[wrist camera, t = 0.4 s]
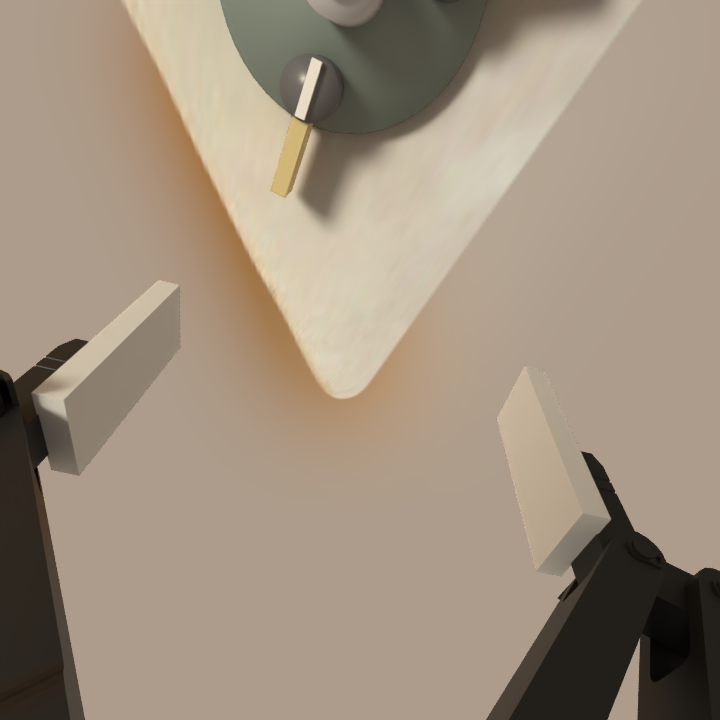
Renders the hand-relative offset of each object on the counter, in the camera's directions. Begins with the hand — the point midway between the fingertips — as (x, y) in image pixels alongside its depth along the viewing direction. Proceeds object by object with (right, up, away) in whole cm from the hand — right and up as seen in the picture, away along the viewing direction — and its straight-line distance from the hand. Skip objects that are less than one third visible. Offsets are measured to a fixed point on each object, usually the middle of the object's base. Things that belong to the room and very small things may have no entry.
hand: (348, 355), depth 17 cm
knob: (-4, +18, +17) cm, 25 cm away
